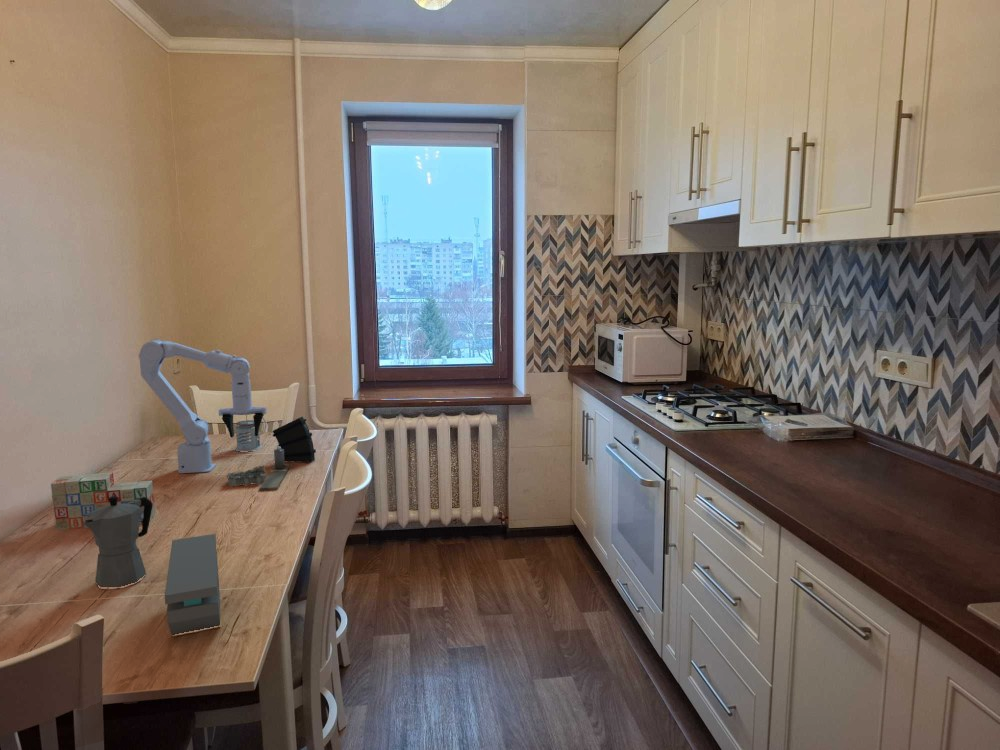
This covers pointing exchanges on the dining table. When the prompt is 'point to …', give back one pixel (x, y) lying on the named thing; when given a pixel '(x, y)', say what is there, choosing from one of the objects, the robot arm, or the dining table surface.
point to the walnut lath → (274, 478)
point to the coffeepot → (119, 541)
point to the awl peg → (279, 458)
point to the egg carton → (247, 477)
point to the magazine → (296, 441)
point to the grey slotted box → (193, 585)
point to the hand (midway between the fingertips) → (244, 436)
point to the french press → (247, 435)
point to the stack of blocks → (93, 497)
